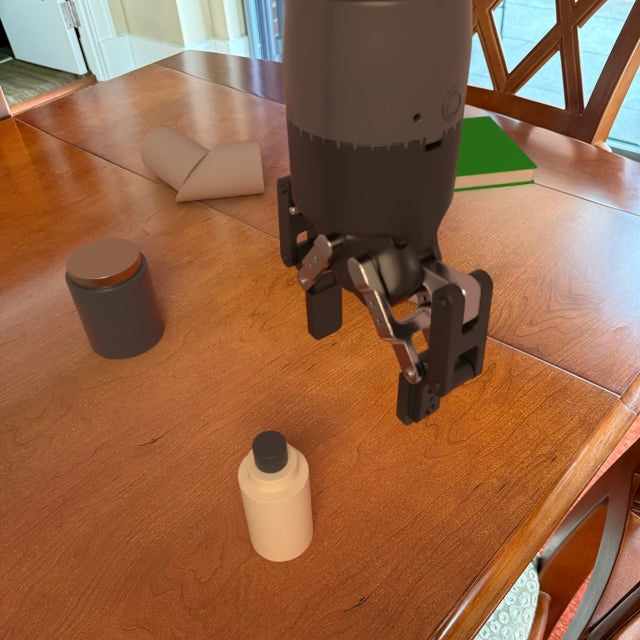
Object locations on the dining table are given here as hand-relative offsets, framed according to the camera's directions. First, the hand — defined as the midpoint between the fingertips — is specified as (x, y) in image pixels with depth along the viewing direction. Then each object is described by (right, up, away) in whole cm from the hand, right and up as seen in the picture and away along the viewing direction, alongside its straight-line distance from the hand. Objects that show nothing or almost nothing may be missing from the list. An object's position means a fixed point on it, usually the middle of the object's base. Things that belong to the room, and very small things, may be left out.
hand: (367, 371), depth 36 cm
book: (+17, +31, +72) cm, 80 cm away
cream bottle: (-6, -16, +17) cm, 24 cm away
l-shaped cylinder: (-23, +26, +67) cm, 76 cm away
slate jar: (-27, +1, +39) cm, 47 cm away
